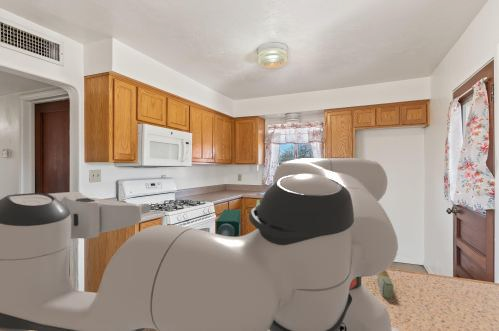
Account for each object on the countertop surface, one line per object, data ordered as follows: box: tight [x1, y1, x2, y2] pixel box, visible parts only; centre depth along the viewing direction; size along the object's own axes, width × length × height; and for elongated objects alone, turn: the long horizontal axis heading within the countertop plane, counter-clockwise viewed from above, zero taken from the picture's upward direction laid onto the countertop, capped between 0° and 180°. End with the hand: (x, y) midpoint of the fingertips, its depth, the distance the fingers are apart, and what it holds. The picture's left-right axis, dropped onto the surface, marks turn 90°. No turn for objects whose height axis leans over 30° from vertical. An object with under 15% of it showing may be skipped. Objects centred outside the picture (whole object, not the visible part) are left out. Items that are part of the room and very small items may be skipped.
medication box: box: [376, 269, 394, 299], centre depth 81 cm, size 12×3×4 cm, turn 162°
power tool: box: [215, 209, 242, 237], centre depth 89 cm, size 32×7×20 cm, turn 179°
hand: (136, 206), depth 62 cm, fingers open, 8 cm apart
